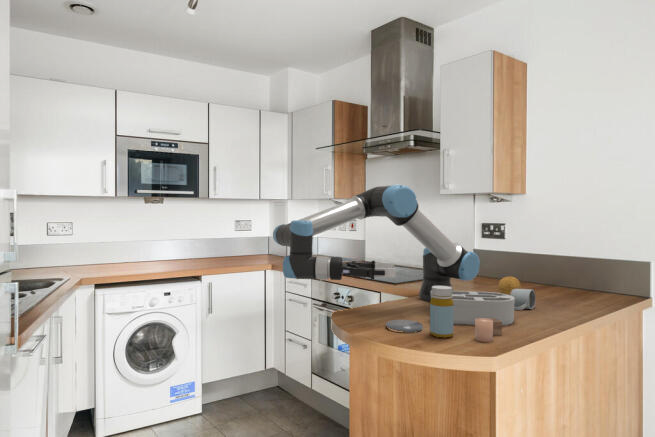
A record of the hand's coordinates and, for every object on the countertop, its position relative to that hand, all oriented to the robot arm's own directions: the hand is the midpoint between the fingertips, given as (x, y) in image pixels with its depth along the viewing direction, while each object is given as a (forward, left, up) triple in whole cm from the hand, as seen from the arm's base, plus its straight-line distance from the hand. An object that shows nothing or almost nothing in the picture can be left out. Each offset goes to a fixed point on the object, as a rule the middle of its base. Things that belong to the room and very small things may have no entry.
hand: (395, 270), depth 140 cm
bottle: (+5, +14, -20) cm, 25 cm away
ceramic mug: (-37, +51, -20) cm, 67 cm away
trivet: (-2, +3, -19) cm, 20 cm away
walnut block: (+1, +30, -20) cm, 36 cm away
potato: (-59, +53, -20) cm, 82 cm away
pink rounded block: (+8, +26, -19) cm, 34 cm away
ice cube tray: (-17, +28, -20) cm, 38 cm away
